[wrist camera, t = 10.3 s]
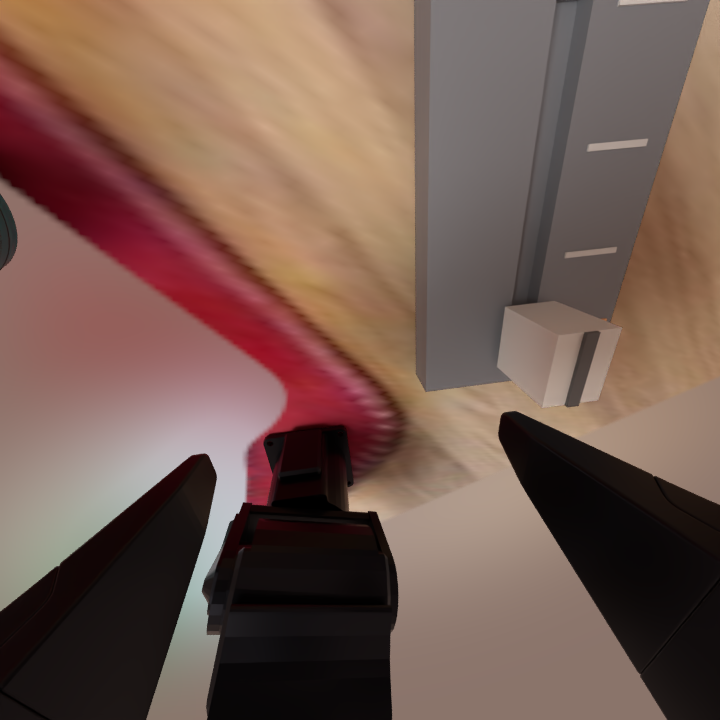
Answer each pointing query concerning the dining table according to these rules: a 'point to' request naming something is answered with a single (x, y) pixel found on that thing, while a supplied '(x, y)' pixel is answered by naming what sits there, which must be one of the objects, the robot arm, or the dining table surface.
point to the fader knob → (556, 352)
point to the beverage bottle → (6, 234)
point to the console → (533, 160)
